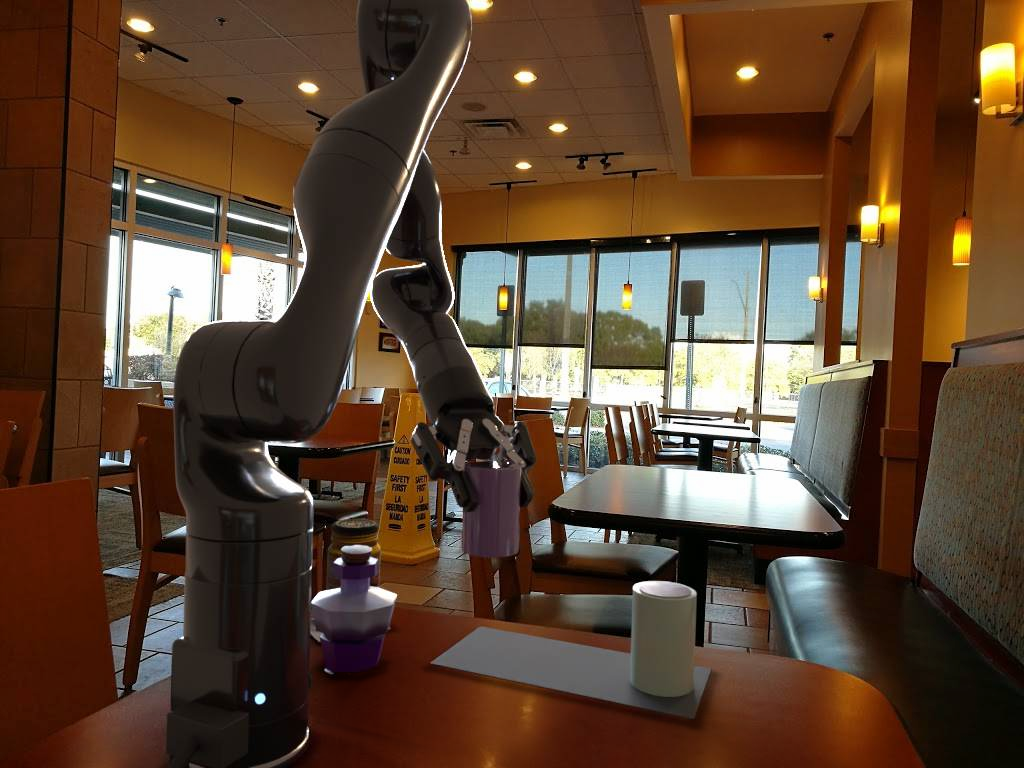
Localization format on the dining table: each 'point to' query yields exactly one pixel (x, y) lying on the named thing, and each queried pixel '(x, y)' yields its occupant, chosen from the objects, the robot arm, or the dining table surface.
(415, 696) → the dining table surface
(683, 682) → the celadon tumbler
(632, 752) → the dining table surface
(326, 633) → the potion bottle
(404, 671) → the dining table surface
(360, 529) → the condiment
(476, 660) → the placemat
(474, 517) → the purple tumbler
